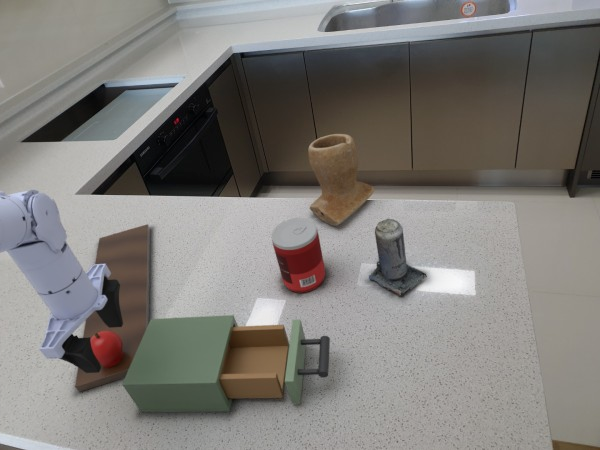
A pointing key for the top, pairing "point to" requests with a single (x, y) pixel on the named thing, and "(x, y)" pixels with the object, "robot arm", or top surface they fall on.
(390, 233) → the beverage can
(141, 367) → the cabinet
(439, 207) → the top surface
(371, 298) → the top surface
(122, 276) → the board
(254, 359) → the drawer
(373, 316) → the top surface
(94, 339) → the apple
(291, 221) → the canned food
